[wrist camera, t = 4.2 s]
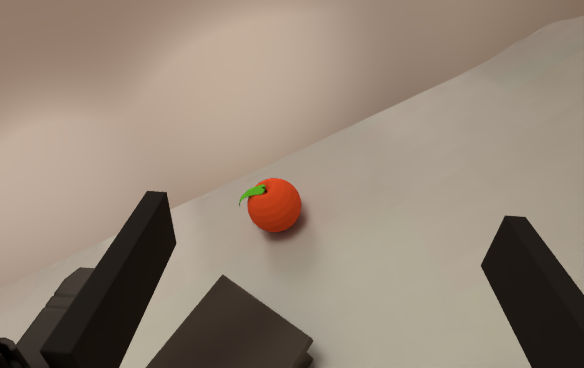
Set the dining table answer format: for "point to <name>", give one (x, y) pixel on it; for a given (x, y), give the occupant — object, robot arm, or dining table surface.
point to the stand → (234, 335)
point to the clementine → (273, 204)
